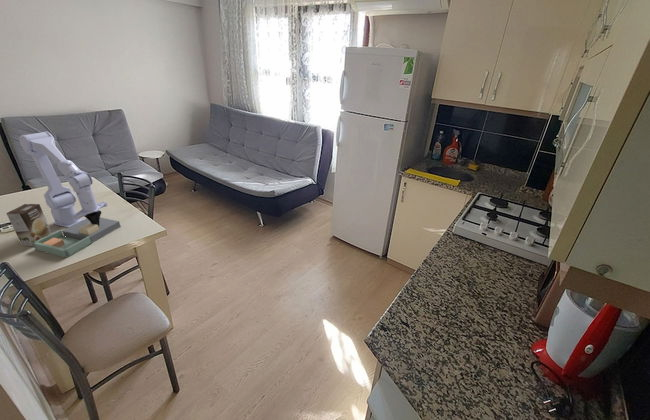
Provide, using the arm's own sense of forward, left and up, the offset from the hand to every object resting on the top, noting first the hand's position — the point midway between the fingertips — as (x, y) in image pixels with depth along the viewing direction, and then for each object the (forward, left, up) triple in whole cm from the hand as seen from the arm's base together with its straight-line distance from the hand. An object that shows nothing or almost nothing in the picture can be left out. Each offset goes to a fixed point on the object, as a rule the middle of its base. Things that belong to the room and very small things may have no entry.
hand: (96, 225), depth 137 cm
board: (-4, 0, -4) cm, 5 cm away
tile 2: (0, -4, -1) cm, 4 cm away
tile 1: (-7, -15, -1) cm, 16 cm away
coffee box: (-19, -13, -4) cm, 23 cm away
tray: (-4, -13, -4) cm, 14 cm away
